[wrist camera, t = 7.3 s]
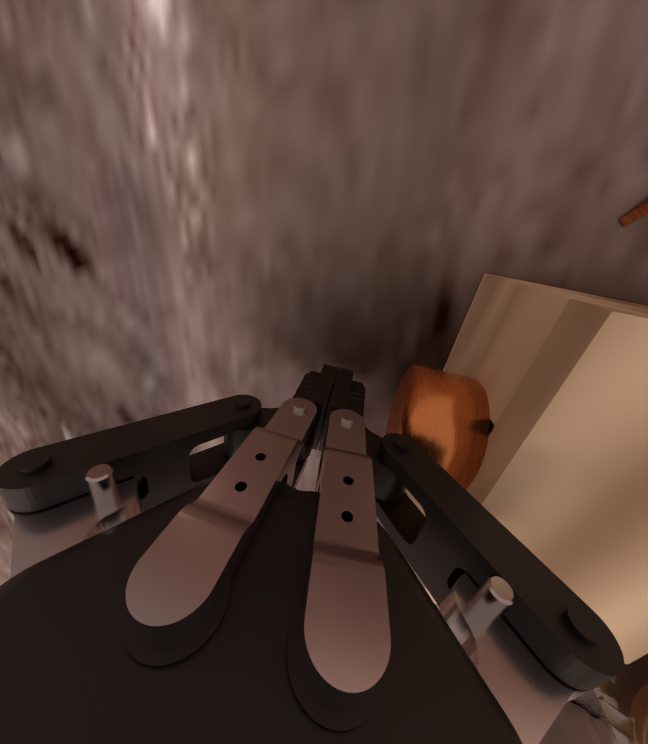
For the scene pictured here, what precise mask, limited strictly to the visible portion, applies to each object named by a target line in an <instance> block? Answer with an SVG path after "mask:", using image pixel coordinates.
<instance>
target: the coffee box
mask: <svg viewBox="0 0 648 744" xmlns="http://www.w3.org/2000/svg"><path fill="white" fill-rule="evenodd" d="M593 690H594V692H595V694H596V696H597V698H598V700H599V702H600V705H601V707H602V709H603V711H604V713H605V715H606V717H607V719H608V722H609V724H610V726H611V728H612V730H613V732H614V735H615V737H616V739H617V741H618V743H619V744H648V654H646V655H644V656H642V657H640V658H639V659H637V660H635V661H633V662H631V663H630V664H624V669H623V671H622V673H621V674H619V675H618V676H616V677H614V678H612V679H610V680H608V681H607V682H605V683H603V684H601V685H599V686H597V687H596V688H594V689H593Z"/></svg>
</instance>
